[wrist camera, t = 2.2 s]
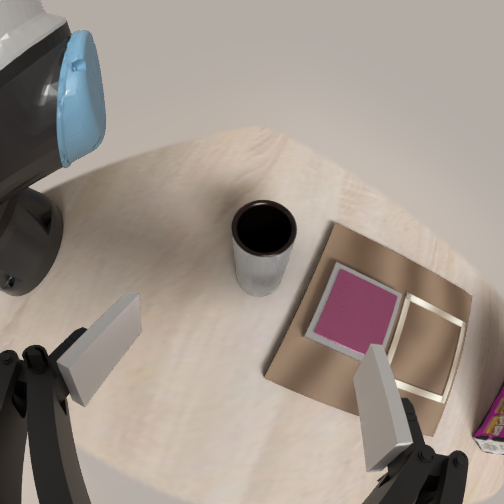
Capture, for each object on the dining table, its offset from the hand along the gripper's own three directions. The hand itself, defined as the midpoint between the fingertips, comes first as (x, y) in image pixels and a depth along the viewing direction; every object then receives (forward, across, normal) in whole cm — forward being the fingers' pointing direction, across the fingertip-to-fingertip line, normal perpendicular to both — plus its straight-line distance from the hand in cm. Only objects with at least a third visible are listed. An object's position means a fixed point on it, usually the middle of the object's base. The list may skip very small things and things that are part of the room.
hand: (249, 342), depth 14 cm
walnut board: (+11, +14, -6) cm, 19 cm away
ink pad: (+11, +9, -4) cm, 15 cm away
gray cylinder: (+14, -1, -3) cm, 14 cm away
